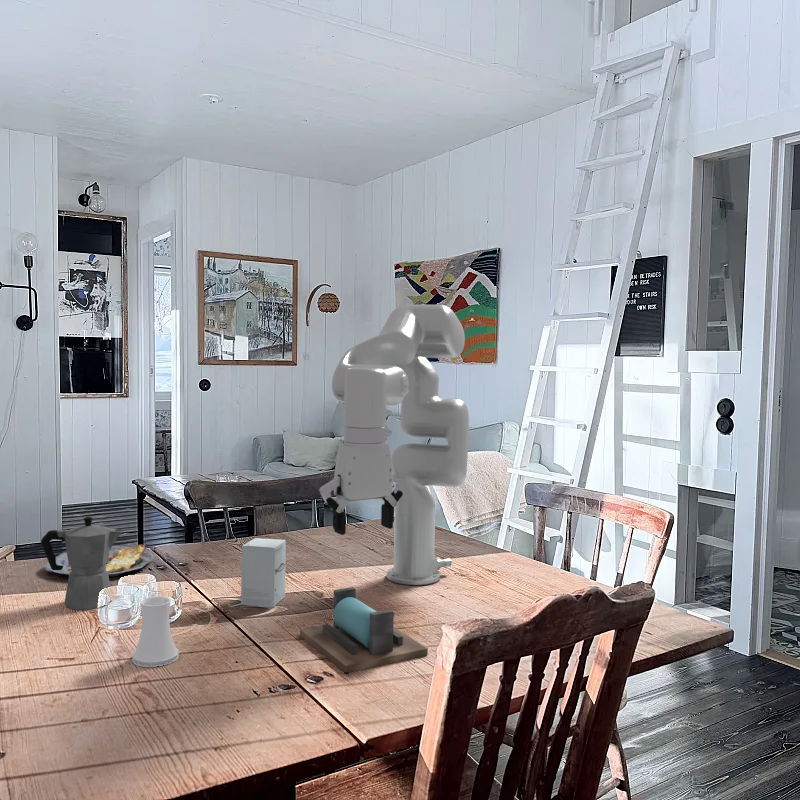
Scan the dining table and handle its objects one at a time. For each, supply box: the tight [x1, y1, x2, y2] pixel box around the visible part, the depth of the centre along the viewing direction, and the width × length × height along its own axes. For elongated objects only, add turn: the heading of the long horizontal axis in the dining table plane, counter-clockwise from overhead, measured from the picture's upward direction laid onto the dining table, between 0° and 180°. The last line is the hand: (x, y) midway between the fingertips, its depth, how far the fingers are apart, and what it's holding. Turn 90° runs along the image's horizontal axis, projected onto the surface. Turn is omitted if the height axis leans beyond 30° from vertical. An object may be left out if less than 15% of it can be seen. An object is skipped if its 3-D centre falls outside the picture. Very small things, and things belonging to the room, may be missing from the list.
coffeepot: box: [40, 516, 123, 611], centre depth 158 cm, size 15×9×18 cm, turn 110°
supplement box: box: [240, 537, 287, 609], centre depth 162 cm, size 7×7×13 cm
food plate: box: [43, 544, 157, 578], centre depth 186 cm, size 25×23×4 cm
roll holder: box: [299, 586, 429, 673], centre depth 139 cm, size 16×19×8 cm
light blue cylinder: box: [332, 597, 378, 648], centre depth 139 cm, size 11×6×6 cm, turn 31°
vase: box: [131, 596, 180, 668], centre depth 132 cm, size 8×8×10 cm
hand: (363, 530), depth 140 cm, fingers open, 9 cm apart
